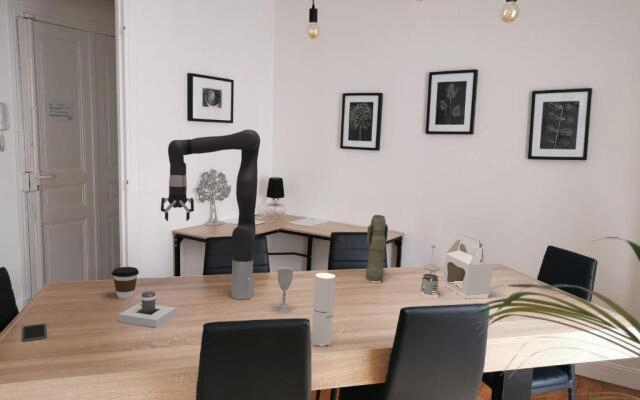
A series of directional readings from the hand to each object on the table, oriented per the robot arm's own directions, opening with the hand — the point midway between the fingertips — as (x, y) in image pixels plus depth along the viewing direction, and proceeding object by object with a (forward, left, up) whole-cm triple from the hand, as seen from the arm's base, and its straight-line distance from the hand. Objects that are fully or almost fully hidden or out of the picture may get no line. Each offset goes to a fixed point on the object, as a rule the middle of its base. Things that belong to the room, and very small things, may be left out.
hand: (177, 220), depth 216 cm
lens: (-7, +32, -33) cm, 47 cm away
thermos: (-84, -57, -33) cm, 106 cm away
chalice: (-53, +3, -33) cm, 63 cm away
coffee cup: (+16, +14, -33) cm, 40 cm away
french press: (-113, -45, -33) cm, 126 cm away
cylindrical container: (-76, +29, -33) cm, 88 cm away
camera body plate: (-7, +32, -33) cm, 47 cm away
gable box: (-131, -57, -33) cm, 146 cm away
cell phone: (+21, +58, -34) cm, 71 cm away
